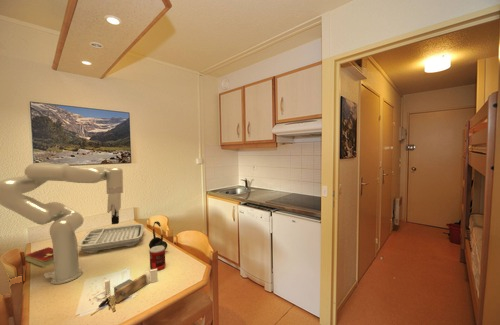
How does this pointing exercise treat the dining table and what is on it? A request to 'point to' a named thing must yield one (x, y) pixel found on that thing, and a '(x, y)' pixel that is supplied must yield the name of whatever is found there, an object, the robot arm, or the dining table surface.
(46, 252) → the hardcover book
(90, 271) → the dining table surface
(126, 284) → the doorstop
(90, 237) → the dish rack
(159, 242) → the headphones
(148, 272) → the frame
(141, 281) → the door
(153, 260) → the canned food
